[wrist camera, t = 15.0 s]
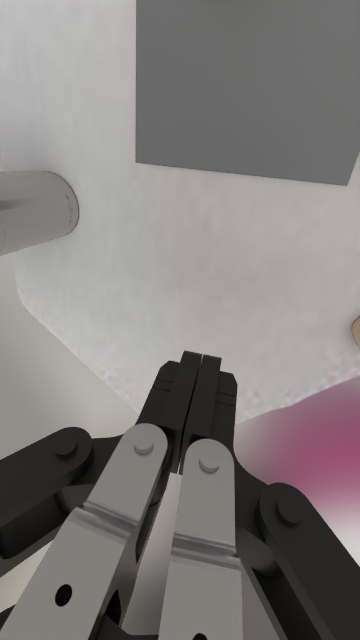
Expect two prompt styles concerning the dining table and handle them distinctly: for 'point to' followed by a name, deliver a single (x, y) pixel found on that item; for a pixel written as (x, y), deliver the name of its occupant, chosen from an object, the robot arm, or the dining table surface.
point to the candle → (356, 331)
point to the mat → (249, 87)
